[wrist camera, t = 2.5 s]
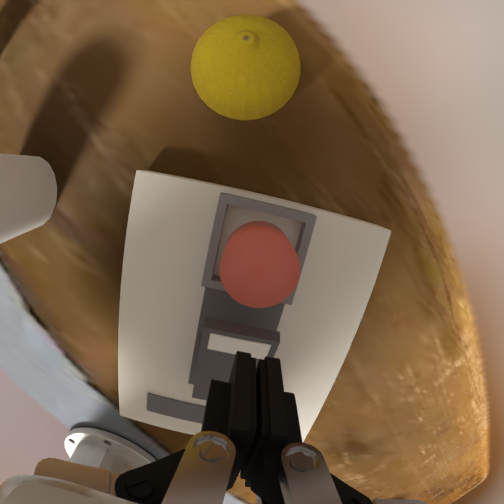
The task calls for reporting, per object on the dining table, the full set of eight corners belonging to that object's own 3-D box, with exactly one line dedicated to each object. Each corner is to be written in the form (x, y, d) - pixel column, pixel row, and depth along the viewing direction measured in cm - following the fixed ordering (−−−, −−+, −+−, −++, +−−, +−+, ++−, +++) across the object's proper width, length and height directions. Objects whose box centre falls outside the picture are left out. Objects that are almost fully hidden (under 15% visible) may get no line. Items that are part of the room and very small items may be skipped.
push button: (281, 290, 17) (288, 314, 14) (218, 277, 17) (212, 298, 14) (298, 229, 16) (309, 241, 13) (232, 214, 16) (229, 223, 13)
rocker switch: (250, 399, 19) (250, 409, 18) (193, 388, 19) (191, 398, 18) (279, 331, 16) (280, 343, 15) (205, 316, 16) (203, 328, 15)
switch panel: (296, 433, 24) (301, 461, 21) (126, 401, 23) (114, 426, 20) (379, 225, 20) (402, 235, 16) (147, 170, 18) (127, 170, 15)
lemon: (255, 146, 18) (261, 127, 10) (185, 100, 17) (148, 57, 10) (305, 83, 17) (340, 32, 9) (237, 39, 16) (232, -29, 9)
